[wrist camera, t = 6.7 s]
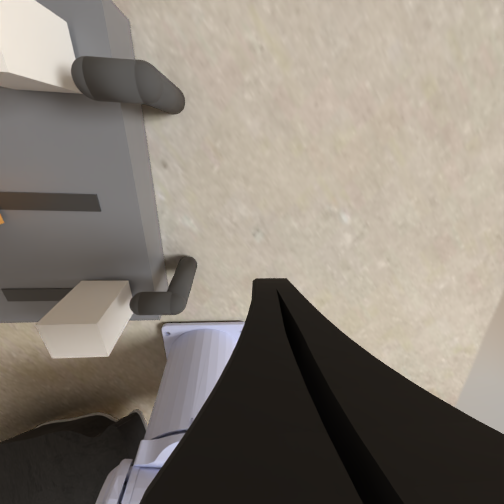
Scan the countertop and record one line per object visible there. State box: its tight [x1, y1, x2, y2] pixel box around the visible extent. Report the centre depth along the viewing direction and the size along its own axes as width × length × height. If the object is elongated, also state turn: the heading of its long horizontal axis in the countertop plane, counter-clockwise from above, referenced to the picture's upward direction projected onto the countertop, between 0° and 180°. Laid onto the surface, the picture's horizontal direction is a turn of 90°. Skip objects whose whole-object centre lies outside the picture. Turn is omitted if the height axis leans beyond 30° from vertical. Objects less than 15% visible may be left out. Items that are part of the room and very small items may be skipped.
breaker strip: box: [0, 0, 168, 323], centre depth 14 cm, size 18×12×3 cm, turn 177°
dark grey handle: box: [71, 56, 197, 315], centre depth 13 cm, size 12×3×6 cm, turn 177°
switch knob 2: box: [35, 281, 133, 358], centre depth 14 cm, size 2×3×4 cm
